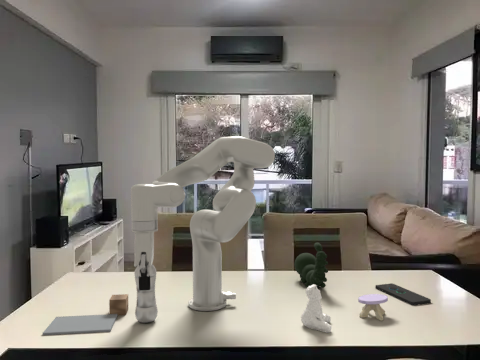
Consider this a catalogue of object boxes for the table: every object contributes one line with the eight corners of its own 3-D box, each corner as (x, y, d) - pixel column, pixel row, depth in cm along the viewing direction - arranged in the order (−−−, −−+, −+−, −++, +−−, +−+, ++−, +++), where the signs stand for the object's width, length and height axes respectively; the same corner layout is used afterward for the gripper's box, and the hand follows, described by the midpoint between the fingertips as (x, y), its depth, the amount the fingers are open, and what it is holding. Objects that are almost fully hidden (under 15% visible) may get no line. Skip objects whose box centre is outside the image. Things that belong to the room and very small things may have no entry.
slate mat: (117, 315, 126) (117, 313, 126) (110, 331, 114) (110, 329, 114) (56, 318, 124) (56, 316, 124) (42, 335, 112) (42, 333, 112)
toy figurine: (333, 297, 149) (310, 273, 173) (335, 246, 146) (312, 229, 171) (308, 298, 147) (288, 274, 171) (310, 247, 145) (290, 230, 169)
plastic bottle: (161, 318, 124) (160, 252, 123) (150, 326, 117) (148, 257, 117) (143, 315, 126) (142, 251, 125) (130, 324, 119) (129, 256, 119)
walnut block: (128, 309, 132) (128, 294, 132) (126, 315, 127) (125, 299, 127) (112, 310, 131) (112, 294, 131) (109, 315, 126) (109, 299, 126)
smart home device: (392, 282, 156) (432, 299, 137) (392, 287, 157) (432, 304, 138) (374, 284, 154) (411, 301, 135) (374, 289, 154) (411, 307, 135)
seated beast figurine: (331, 333, 113) (332, 290, 112) (300, 331, 114) (300, 289, 114) (330, 320, 122) (330, 281, 121) (301, 319, 123) (301, 279, 123)
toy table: (380, 309, 131) (380, 292, 131) (395, 320, 123) (395, 301, 122) (351, 311, 130) (351, 293, 130) (364, 322, 121) (365, 303, 121)
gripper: (135, 222, 128) (136, 278, 129) (127, 231, 111) (128, 296, 112) (159, 221, 129) (160, 277, 130) (155, 230, 112) (156, 295, 113)
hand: (145, 285), depth 121 cm, fingers closed on plastic bottle, 6 cm apart
